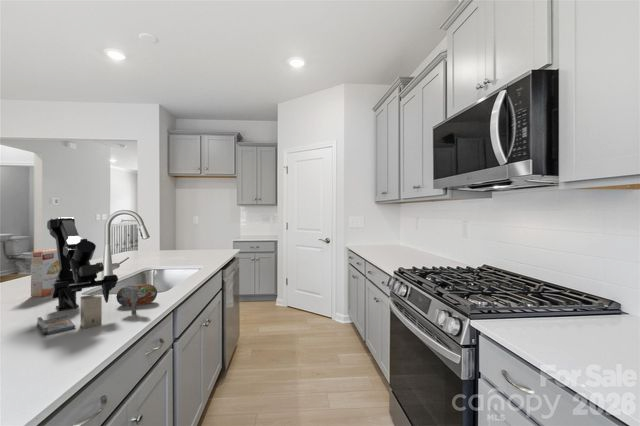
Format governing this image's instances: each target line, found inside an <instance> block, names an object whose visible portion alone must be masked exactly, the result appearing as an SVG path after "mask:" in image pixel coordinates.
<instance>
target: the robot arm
mask: <svg viewBox="0 0 640 426" xmlns="http://www.w3.org/2000/svg"><path fill="white" fill-rule="evenodd" d="M75 224H76V222H75V219H74V217H71V216H61V217H57V218H50V219H49V220H48V221H47V224H46V229H47V230H48V231H49V235H50V236H51V238H54V239H55V244H56V249H57V253H58V260H59V267H60V272H59V274H58V276H57V277H56V280H55V283H54V285H53V288H52V294H51V297H52V299H57V300H58V302H57V303H58V305H56V306H55V307H56V309H57V310H58V311H65V310H70V309H74V310H76V309H77V308H79V307H80V305H79V304H78V303H77V292H82V291H83V289H88V288H95V287H101V288H102V291H101V292H102V295H103V299H104V302H105V303H108V302H109V298H110V297H109V296H110V291H112V290H113V289H114V288H115V287H116V285H117V283H118V281H119V278H118V275H116V274H107V275H103V279H100V280H99V279H98V280H96V279H97V278H98V274H99V273H102V272H103V271H104V268H105V267H104V264H103V262H102V261H101V262H96V263H95V264H91V262H90V261H91V260H93V259H92V258H93V256H94V255H95V254H94V253H95V251H96V248H97V246H96V243H94V242H92V241H90V240H88V238H82V237H80V235H79V232H78V230H77V227H76V225H75Z"/></svg>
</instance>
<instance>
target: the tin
mask: <svg viewBox="0 0 640 426" xmlns="http://www.w3.org/2000/svg"><path fill="white" fill-rule="evenodd" d="M126 286H127V285H125V286H124V287H126ZM130 286H134V287H138V289H141V288H145V289H146V290H147V291H146V295H145V296H144V297H141V298H137V300H138V301H136V306H141V305H142V306H143V305H150V304H151V303H153V302H154V301H155V300H156V298H157V295H158V289H157V288H156V287H155V286H154V285H152V283H151V284H150V283H145V284H143V283H142V284H133V285H132V284H131V285H130ZM138 295H140V294H138ZM116 301H117V303H118V304H119V305H120V306H123V307H129V306H131V307H132V303H131V302H130V298H126V297H123V296H122V291H121V288H120V289H119V290H118V291H117V294H116Z"/></svg>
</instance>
